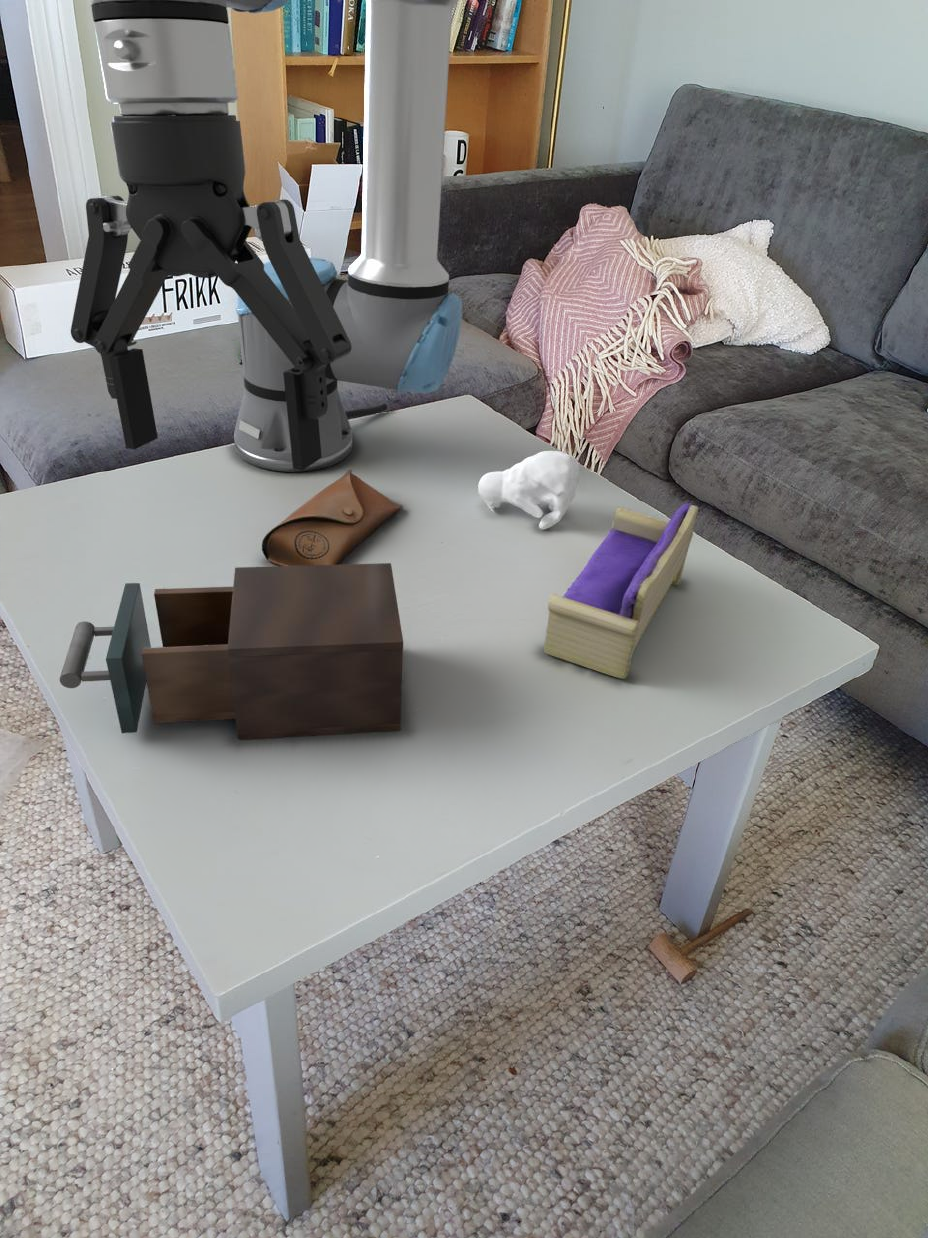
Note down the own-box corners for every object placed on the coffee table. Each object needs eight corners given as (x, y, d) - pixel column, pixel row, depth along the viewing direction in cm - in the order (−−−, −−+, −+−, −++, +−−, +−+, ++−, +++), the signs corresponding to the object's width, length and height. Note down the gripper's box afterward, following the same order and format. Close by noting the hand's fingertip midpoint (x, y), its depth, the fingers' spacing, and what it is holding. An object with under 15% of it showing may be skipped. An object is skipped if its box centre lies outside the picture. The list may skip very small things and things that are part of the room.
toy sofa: (608, 557, 103) (623, 476, 97) (683, 579, 100) (703, 497, 94) (537, 657, 88) (550, 567, 82) (624, 687, 85) (643, 596, 79)
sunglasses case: (330, 578, 95) (299, 521, 93) (282, 590, 99) (252, 537, 97) (407, 504, 109) (382, 454, 107) (362, 518, 113) (337, 470, 110)
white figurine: (573, 467, 101) (469, 456, 104) (570, 535, 106) (471, 522, 109) (584, 445, 106) (486, 435, 109) (581, 511, 111) (487, 499, 114)
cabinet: (237, 740, 76) (227, 649, 70) (243, 653, 85) (234, 567, 80) (400, 730, 78) (403, 642, 73) (389, 647, 87) (391, 562, 82)
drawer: (65, 736, 74) (46, 661, 69) (88, 656, 82) (72, 584, 78) (277, 725, 76) (271, 651, 72) (279, 648, 85) (274, 578, 80)
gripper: (-38, 111, 55) (43, 450, 65) (333, 107, 48) (358, 491, 58) (50, 111, 61) (111, 421, 72) (391, 108, 54) (405, 454, 64)
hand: (222, 453), depth 65 cm, fingers open, 13 cm apart
